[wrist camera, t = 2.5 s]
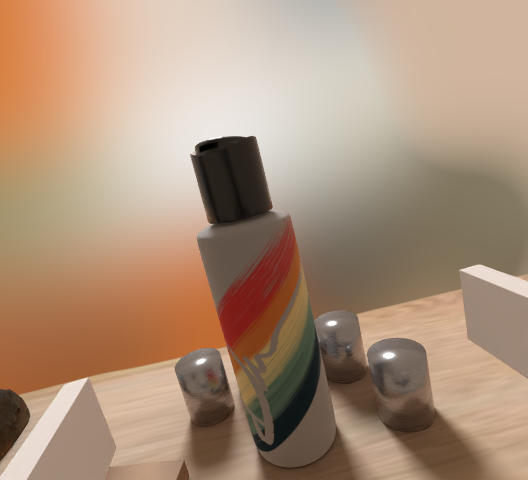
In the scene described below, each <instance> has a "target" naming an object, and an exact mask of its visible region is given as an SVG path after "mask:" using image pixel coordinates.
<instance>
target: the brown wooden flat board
mask: <svg viewBox="0 0 528 480" xmlns="http://www.w3.org/2000/svg"><path fill="white" fill-rule="evenodd" d="M188 477H189V473H188V470H187V467H186V465H185V462H184V460H179V461H169V462H158V463H148V464H137V465H127V466H117V467H109V469H108V472H107V475H106V478H105V480H187V479H188Z"/></svg>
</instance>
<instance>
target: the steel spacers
mask: <svg viewBox="0 0 528 480" xmlns="http://www.w3.org/2000/svg"><path fill="white" fill-rule="evenodd" d="M314 324H315V328H316V333H317V337H318V342H319V346H320V351H321V355H322V360H323V365H324V369H325V374H326V377H327V378H328V379H329V380H331V381H333V382H337V383H350V382H354V381H356V380H359V379H360V378H362V377H363V376H364V375H365V374H366V372H367V364H366V359H365V353H364V348H363V343H362V337H361V332H360V327H359V322H358V317H357V315H356V314H354V313H352V312H349V311H332V312H328V313H325V314H323V315H321V316H319V317H318V318H316V320H315V321H314ZM367 356H368V362H369V367H370V372H371V378H372V383H373V388H374V394H375V399H376V404H377V410H378V415H379V417H380V419H381V420H382V422H383V423H384V424H386V425H387V426H389V427H390V428H392V429H395V430H398V431H403V432H416V431H420V430H423V429H425V428H427V427H428V426H430V425H431V423H432V422H433V420H434V418H435V411H434V404H433V397H432V390H431V383H430V376H429V369H428V362H427V356H426V350H425V348H424V347H423V346H422V345H421V344H419V343H418V342H416V341H413V340H410V339H405V338H389V339H384V340H381V341H379V342H376V343H375V344H373V345H372V346H371V347H370V348H369V350H368V352H367ZM175 372H176V375H177V378H178V381H179V384H180V387H181V390H182V393H183V396H184V399H185V402H186V405H187V408H188V411H189V414H190V417H191V420H192V422H193V423H194V424H196V425H198V426H210V425H214V424H216V423H219V422H220V421H222V420H224V419H225V418H226V417H227V416H228V415H229V414H230V413H231V412H232V410H233V408H234V400H233V397H232V393H231V390H230V386H229V383H228V379H227V376H226V373H225V369H224V366H223V362H222V359H221V356H220V352H219V351H218V350H216V349H213V348H204V349H200V350H196V351H193V352H191V353H189V354H187V355H186V356H184V357H183V358H181V359H180V360H179V361H178V362H177V364H176V366H175Z"/></svg>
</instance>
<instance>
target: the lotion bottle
mask: <svg viewBox="0 0 528 480" xmlns="http://www.w3.org/2000/svg"><path fill="white" fill-rule="evenodd" d="M190 155H191V159H192V163H193V167H194V171H195V174H196V178H197V182H198V186H199V189H200V193H201V197H202V201H203V204H204V208H205V211H206V216H207V219H208V222H209V223H210V224H213V225H211V226H209V227H207V228H205V229H203V230H202V231H200V232H199V233H198V235H197V241H198V246H199V250H200V253H201V257H202V261H203V264H204V268H205V271H206V275H207V278H208V281H209V285H210V289H211V292H212V296H213V299H214V303H215V306H216V310H217V313H218V317H219V320H220V324H221V327H222V331H223V334H224V338H225V341H226V345H227V348H228V352H229V355H230V359H231V362H232V366H233V369H234V373H235V376H236V380H237V383H238V387H239V390H240V394H241V397H242V401H243V404H244V408H245V411H246V415H247V418H248V422H249V425H250V428H251V432H252V435H253V438H254V441H255V444H256V446H257V449H258V451H259V452H260V454H261V455H262V456H263V457H264V458H265V459H266V460H267V461H269V462H270V463H272V464H274V465H277V466H281V467H289V468H290V467H300V466H304V465H307V464H310V463H312V462H314V461H316V460H318V459H319V458H320V457H322V456H323V455H324V454H325V453H326V452H327V451H328V450H329V448H330V447H331V445H332V443H333V441H334V439H335V435H336V422H335V416H334V411H333V406H332V401H331V396H330V392H329V387H328V383H327V378H326V374H325V369H324V365H323V360H322V355H321V351H320V346H319V342H318V337H317V333H316V328H315V324H314V320H313V315H312V310H311V306H310V301H309V296H308V293H307V287H306V283H305V279H304V274H303V269H302V265H301V260H300V256H299V251H298V247H297V242H296V238H295V234H294V229H293V225H292V221H291V217H290V215H289V213H288V212H286V211H282V210H271V209H272V207H273V206H272V202H271V197H270V193H269V189H268V185H267V181H266V177H265V172H264V168H263V164H262V160H261V156H260V152H259V148H258V144H257V140H256V137H254V136H250V137H239V136H232V137H220V138H214V139H210V140H206V141H203V142H201V143H199V144H197V145H196V146H195V152H192V153H191V154H190Z"/></svg>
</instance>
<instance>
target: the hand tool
mask: <svg viewBox="0 0 528 480" xmlns="http://www.w3.org/2000/svg"><path fill="white" fill-rule="evenodd" d="M29 418H30V413H29V410H28V408H27V406H26V404H25V402H24V400H23V399H22V398H21V397H20V396H18V395H17V394H16V393H14V392H13V391H12V390H10V389H9V390H3V389H1V390H0V460H1V459H2V458H3V457H4V456H5V454H6V453H7V452H8V451H9V449H10V448H11V447H12V446H13V444H14V443H15V441H16V440H17V438H18V437H19V435H20V434H21V432H22V430H23V429H24V427H25V425H26V423H27V422H28V420H29Z"/></svg>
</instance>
